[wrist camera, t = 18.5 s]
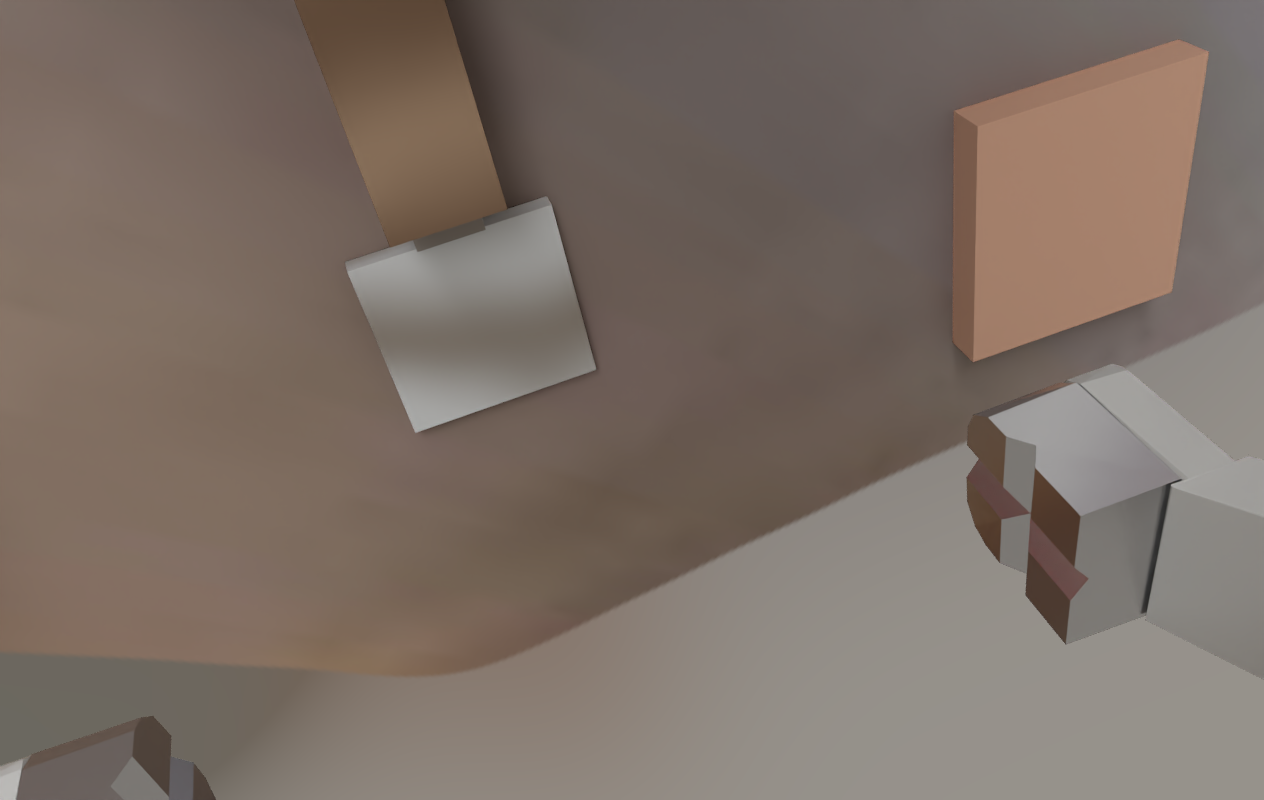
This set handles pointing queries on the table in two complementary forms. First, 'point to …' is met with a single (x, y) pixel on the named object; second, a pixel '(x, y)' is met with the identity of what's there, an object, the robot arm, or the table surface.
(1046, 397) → the robot arm
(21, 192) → the table surface
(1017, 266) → the tile
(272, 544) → the table surface
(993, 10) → the table surface
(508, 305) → the turner
